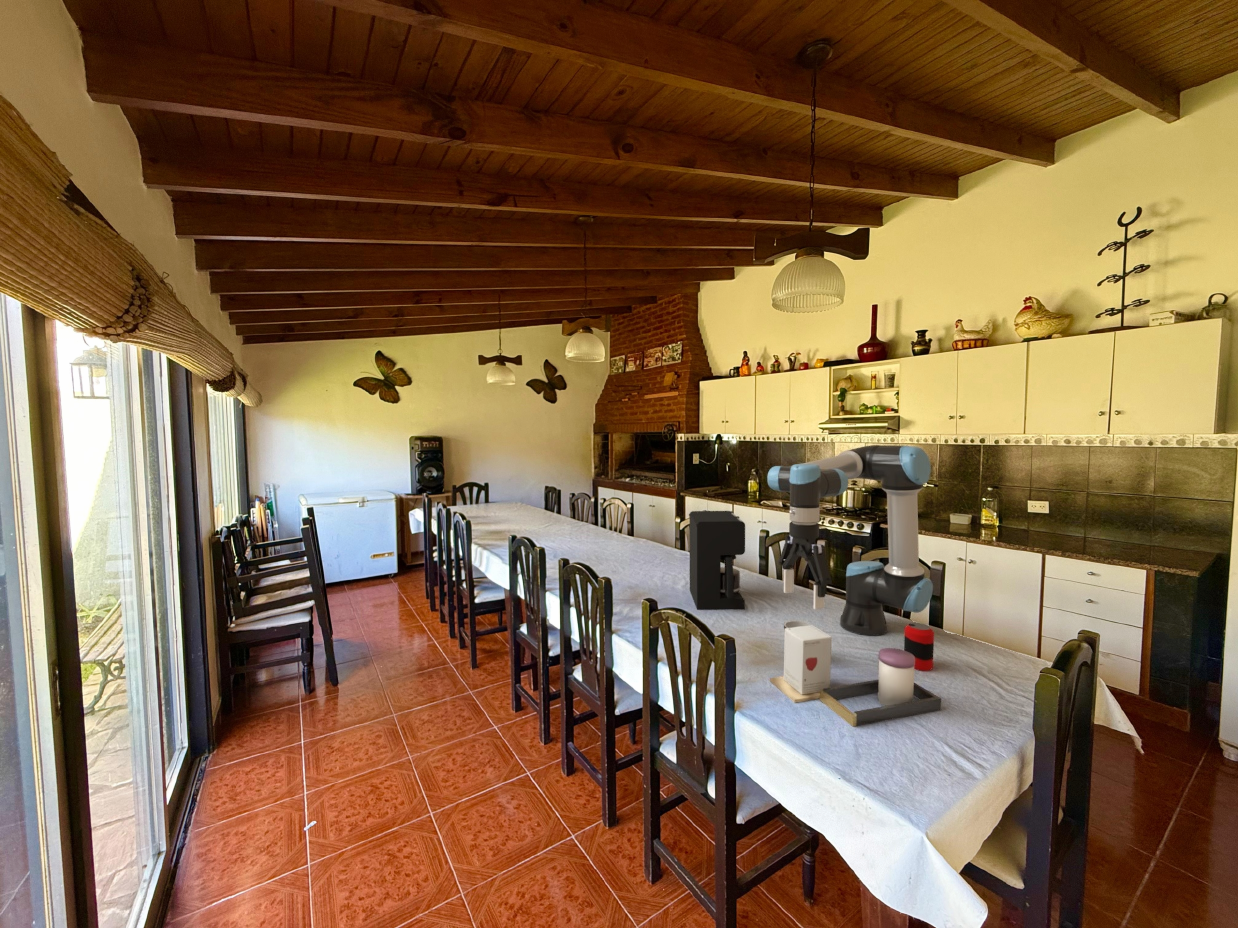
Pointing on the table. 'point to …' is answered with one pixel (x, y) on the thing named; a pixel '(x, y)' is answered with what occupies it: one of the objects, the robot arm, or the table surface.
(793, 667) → the supplement box
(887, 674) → the cream lidded canister
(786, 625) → the coffee mug
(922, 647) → the soda can
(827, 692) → the grey tray
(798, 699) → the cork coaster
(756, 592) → the table surface
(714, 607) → the coffee maker
